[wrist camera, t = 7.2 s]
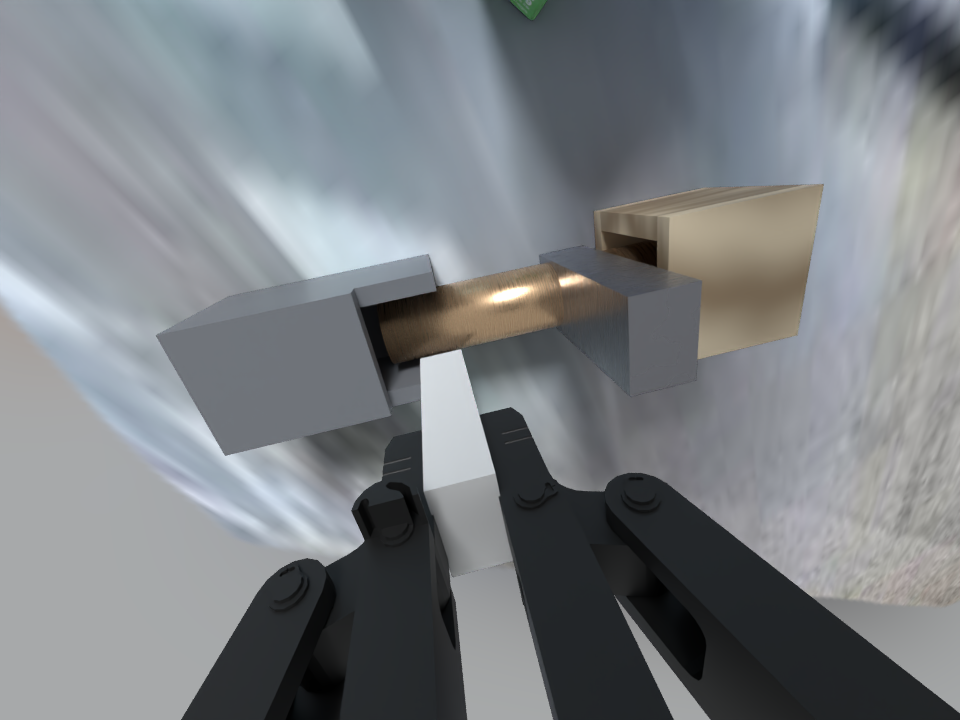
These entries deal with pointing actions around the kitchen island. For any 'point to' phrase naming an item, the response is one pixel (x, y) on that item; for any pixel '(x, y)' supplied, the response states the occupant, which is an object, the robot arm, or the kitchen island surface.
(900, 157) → the kitchen island surface
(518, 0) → the ink box
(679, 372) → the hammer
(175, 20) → the kitchen island surface
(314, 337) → the sleeve
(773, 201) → the socket
